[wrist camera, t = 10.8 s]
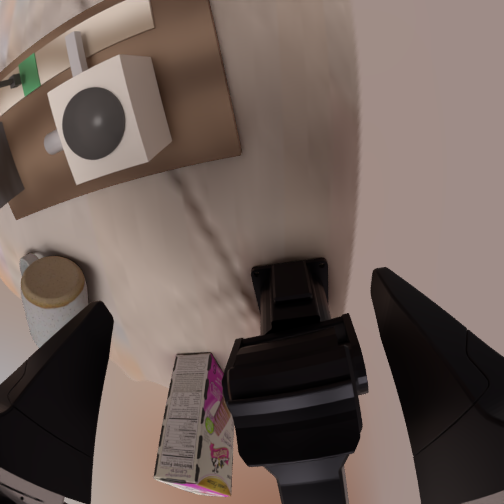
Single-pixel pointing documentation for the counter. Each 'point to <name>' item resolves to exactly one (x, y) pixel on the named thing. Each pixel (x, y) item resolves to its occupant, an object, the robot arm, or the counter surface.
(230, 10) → the counter surface
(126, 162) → the gauge
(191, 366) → the candy bar box
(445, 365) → the robot arm
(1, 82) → the peak needle
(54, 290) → the ceramic mug
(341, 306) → the counter surface
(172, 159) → the test rig
